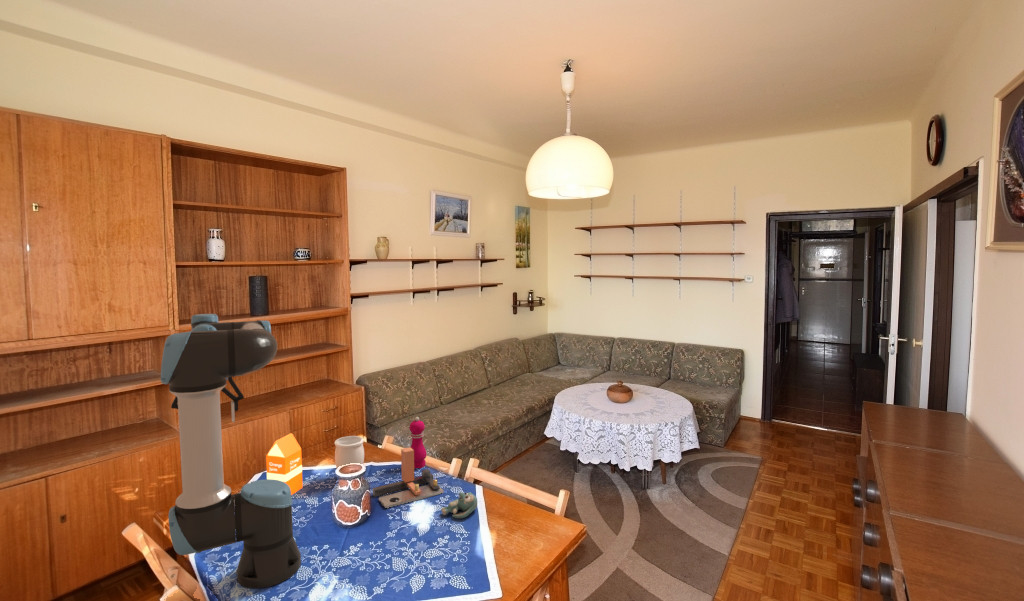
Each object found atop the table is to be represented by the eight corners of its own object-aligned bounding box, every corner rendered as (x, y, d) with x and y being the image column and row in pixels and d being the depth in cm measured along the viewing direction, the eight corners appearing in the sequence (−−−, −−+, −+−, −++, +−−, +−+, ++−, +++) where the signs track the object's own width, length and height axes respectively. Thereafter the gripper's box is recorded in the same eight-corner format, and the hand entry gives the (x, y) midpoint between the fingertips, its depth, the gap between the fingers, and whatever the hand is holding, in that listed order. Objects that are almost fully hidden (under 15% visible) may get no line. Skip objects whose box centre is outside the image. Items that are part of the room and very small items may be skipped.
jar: (370, 477, 184) (369, 438, 183) (348, 488, 175) (347, 447, 174) (352, 470, 190) (351, 433, 189) (329, 480, 181) (328, 441, 180)
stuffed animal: (435, 492, 161) (470, 480, 165) (440, 512, 162) (474, 499, 166) (442, 507, 151) (479, 494, 155) (447, 528, 152) (483, 515, 156)
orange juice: (267, 496, 169) (265, 440, 167) (284, 485, 178) (282, 431, 176) (286, 498, 167) (284, 442, 166) (303, 487, 176) (301, 433, 174)
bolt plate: (443, 493, 172) (443, 490, 172) (385, 509, 160) (385, 506, 160) (435, 485, 178) (435, 482, 177) (378, 500, 166) (378, 497, 166)
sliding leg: (423, 493, 168) (422, 458, 167) (413, 495, 167) (413, 460, 166) (410, 480, 178) (410, 447, 177) (401, 482, 176) (401, 449, 175)
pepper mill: (430, 465, 195) (429, 416, 193) (415, 471, 190) (414, 421, 188) (419, 460, 200) (418, 413, 198) (404, 465, 195) (404, 417, 193)
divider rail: (443, 490, 173) (443, 478, 173) (382, 507, 161) (382, 494, 161) (431, 479, 182) (431, 468, 182) (372, 494, 170) (372, 482, 170)
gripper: (248, 355, 169) (251, 415, 171) (160, 363, 155) (164, 428, 157) (250, 358, 163) (253, 420, 164) (159, 367, 149) (162, 434, 151)
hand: (209, 424), depth 161 cm, fingers open, 13 cm apart
